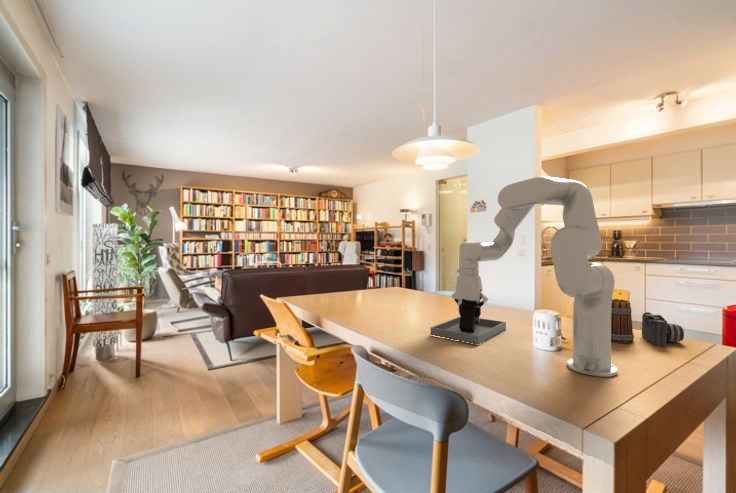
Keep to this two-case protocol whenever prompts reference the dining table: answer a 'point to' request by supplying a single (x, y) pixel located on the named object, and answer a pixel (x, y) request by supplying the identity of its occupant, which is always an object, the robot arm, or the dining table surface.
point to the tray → (480, 334)
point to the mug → (621, 322)
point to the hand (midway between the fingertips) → (469, 315)
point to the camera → (660, 330)
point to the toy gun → (468, 316)
